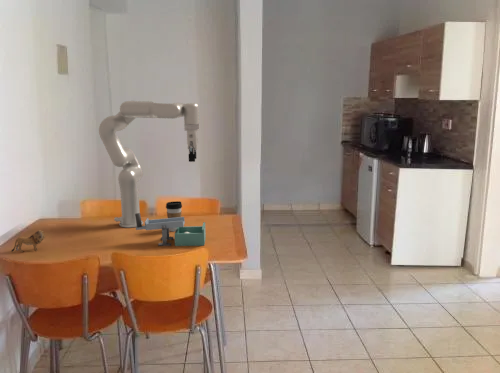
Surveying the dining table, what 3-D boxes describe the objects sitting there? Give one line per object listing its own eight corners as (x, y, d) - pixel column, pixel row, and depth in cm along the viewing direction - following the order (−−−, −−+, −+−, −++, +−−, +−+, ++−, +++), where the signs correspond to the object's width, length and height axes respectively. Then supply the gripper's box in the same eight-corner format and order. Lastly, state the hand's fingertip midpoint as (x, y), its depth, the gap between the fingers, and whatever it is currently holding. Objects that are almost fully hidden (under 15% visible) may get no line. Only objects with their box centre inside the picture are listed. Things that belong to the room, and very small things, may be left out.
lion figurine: (46, 246, 226) (44, 228, 225) (45, 250, 222) (43, 231, 220) (12, 250, 221) (9, 232, 220) (10, 254, 217) (8, 235, 215)
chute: (135, 231, 227) (133, 216, 225) (138, 226, 234) (136, 212, 232) (183, 226, 227) (181, 211, 225) (184, 222, 234) (183, 207, 233)
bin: (174, 246, 226) (174, 229, 225) (177, 238, 238) (177, 222, 236) (204, 245, 227) (204, 229, 225) (205, 237, 239) (205, 222, 237)
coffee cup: (179, 232, 247) (178, 204, 244) (164, 231, 249) (163, 203, 245) (185, 228, 255) (184, 200, 252) (170, 227, 257) (169, 200, 253)
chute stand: (158, 246, 226) (157, 226, 224) (161, 238, 238) (160, 219, 236) (170, 246, 226) (169, 226, 224) (173, 238, 238) (172, 219, 236)
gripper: (197, 128, 238) (198, 162, 242) (200, 126, 255) (200, 157, 259) (182, 129, 238) (183, 162, 242) (186, 126, 255) (187, 157, 259)
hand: (192, 160), depth 250 cm, fingers open, 9 cm apart
